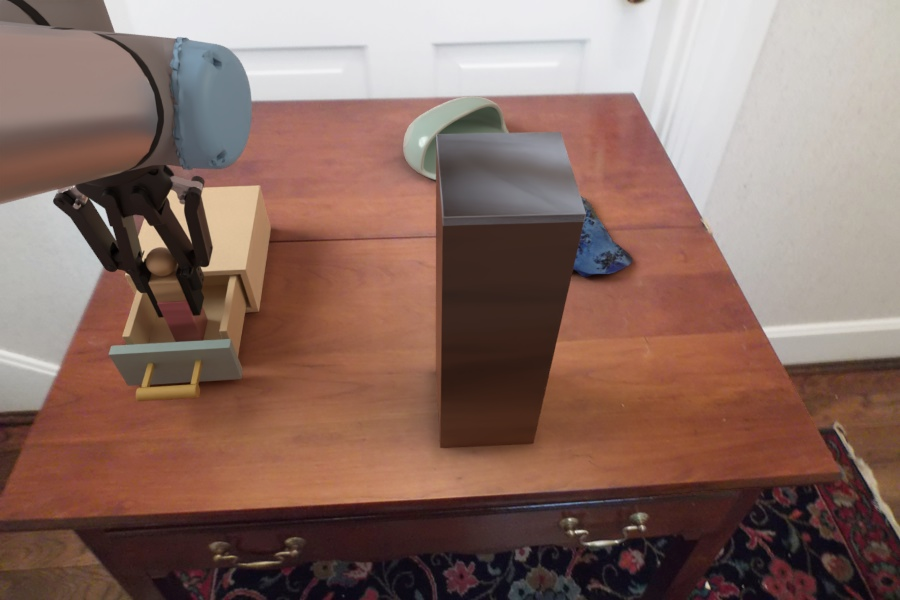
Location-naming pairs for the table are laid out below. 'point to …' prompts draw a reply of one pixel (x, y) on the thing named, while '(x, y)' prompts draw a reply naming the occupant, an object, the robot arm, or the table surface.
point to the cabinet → (226, 235)
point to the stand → (500, 279)
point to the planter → (449, 128)
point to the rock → (598, 248)
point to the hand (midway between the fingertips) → (181, 307)
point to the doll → (173, 297)
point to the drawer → (183, 344)
